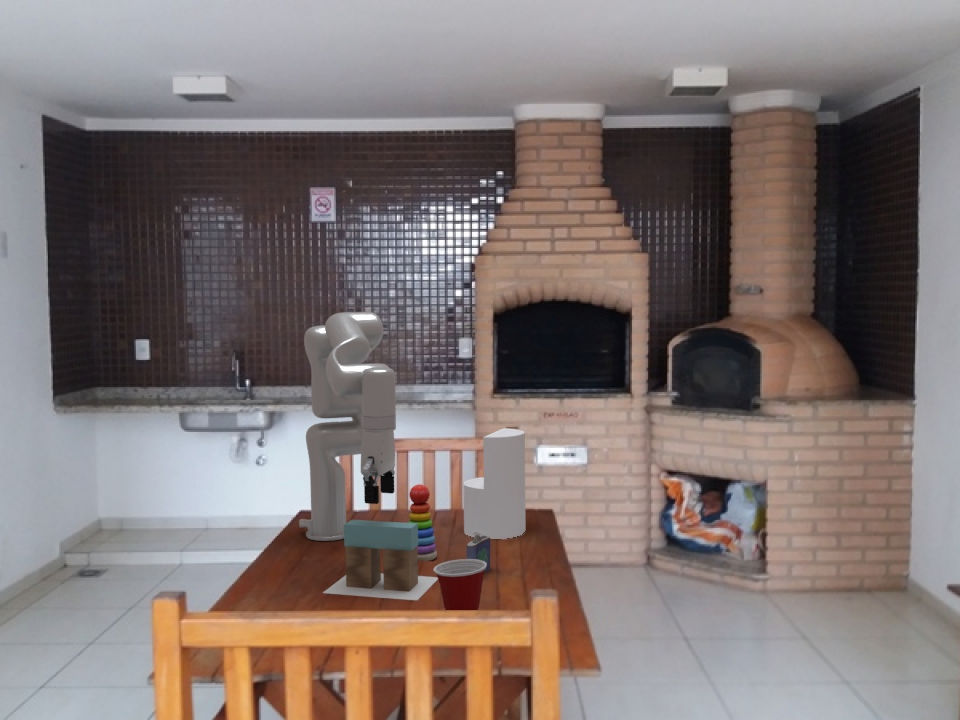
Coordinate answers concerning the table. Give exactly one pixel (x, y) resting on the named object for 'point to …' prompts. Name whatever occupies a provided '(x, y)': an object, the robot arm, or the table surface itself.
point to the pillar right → (400, 569)
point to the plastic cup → (461, 583)
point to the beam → (381, 535)
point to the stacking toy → (422, 522)
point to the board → (379, 591)
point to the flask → (479, 549)
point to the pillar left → (362, 567)
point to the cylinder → (498, 488)
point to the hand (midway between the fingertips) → (379, 498)
